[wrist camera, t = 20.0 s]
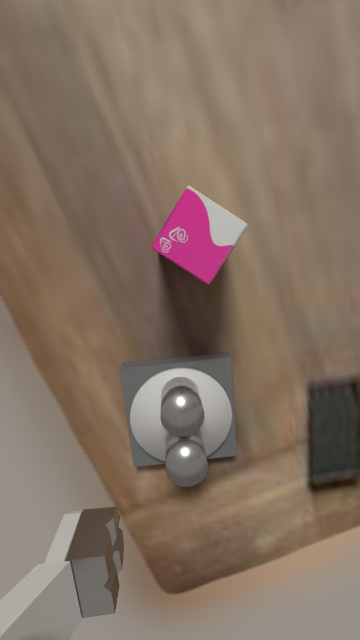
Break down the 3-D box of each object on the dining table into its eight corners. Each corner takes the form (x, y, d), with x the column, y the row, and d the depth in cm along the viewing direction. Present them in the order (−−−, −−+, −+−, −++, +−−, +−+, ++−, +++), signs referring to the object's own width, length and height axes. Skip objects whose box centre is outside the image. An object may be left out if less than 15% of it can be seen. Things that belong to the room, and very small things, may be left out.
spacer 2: (201, 421, 37) (206, 447, 32) (203, 454, 38) (209, 484, 33) (164, 425, 37) (164, 451, 32) (167, 458, 38) (167, 488, 33)
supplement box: (181, 205, 35) (189, 181, 23) (225, 234, 36) (253, 225, 24) (154, 250, 36) (149, 248, 24) (198, 278, 36) (212, 288, 25)
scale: (226, 349, 39) (233, 361, 35) (232, 446, 42) (240, 468, 38) (123, 360, 39) (118, 373, 35) (136, 457, 42) (133, 480, 38)
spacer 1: (197, 374, 36) (202, 394, 31) (200, 410, 37) (205, 434, 32) (159, 378, 36) (158, 398, 31) (163, 413, 36) (162, 438, 32)
